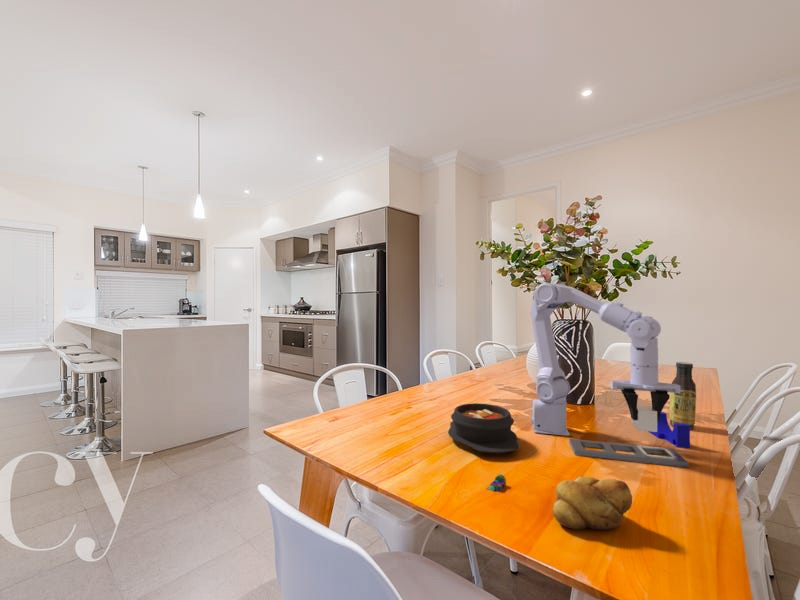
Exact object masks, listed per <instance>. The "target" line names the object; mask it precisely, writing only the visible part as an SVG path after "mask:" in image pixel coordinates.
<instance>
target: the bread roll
mask: <svg viewBox="0 0 800 600" xmlns="http://www.w3.org/2000/svg"><path fill="white" fill-rule="evenodd" d="M555 494H556V495H555V496H556V497H555V502H554V504H553V505H552V506H553V508H552V514H553V518H554V519H555V520H556V521H557V522H558V524H560V525H562V526H564V527H567V528H569V529H574V530H583V529H586V528H590V529H593V530H599V531H611V530H612V529H615V528H617V527H619V526H620V525H621V523H622V518H623V516H624V514H625V513H627V512H628V511H629V510H631V508H632V505H633V494H632V493H631V489H630V488H629V486H628V484H627V483H626V482H625V481H623V480H619V479H616V478H615V479H609V478H608V479H607V478H606V479H601V480H599V479H598V478H595V477H593V476H592V477H591V476H583V475H580V476H578V477H577V478H576V479H574V480H572V479H566V480H563V481H561V482H559V483H558V484H557V486H556V488H555Z"/></svg>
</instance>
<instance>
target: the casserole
mask: <svg viewBox="0 0 800 600" xmlns="http://www.w3.org/2000/svg"><path fill="white" fill-rule="evenodd" d="M450 419H451V420H452V421H451V422H450V423H449V426H450V427H449V428H448V431H447V433H448V435H449V437H450V438H451V439H452V440H454V441H456V442H458V443H461V444H463V445H465V446H468V447H470V448H472V449H473V450H475V451H477V452H480V453H487V454H503V453H504V454H505V453H510V452H516V451H517V450H519V449H520V445H519V442H518V436H517V434H516V433H515V432H514V431H513V430H511V429H512V426H513V425H514V423H515V420H514V418H513V417H512V415H511V412H510V411H509V410H508V409H506V408H504V407H502V406H499V405H494V404H488V403H464V404H460V405H457V406H456V407H455V408H454V410H453V413H452V414H451V415H450Z"/></svg>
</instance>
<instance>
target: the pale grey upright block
mask: <svg viewBox="0 0 800 600" xmlns="http://www.w3.org/2000/svg"><path fill="white" fill-rule="evenodd" d="M632 426H633V427H634V428H635V429H636V430H637V431H643V432H648V431H651V432H657V411H656V410H655V409H653V408H652V406H646V405H645V406H644V405H637V420H633V419H632Z"/></svg>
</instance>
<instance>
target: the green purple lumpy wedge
mask: <svg viewBox="0 0 800 600" xmlns="http://www.w3.org/2000/svg"><path fill="white" fill-rule="evenodd" d="M506 479H507V478H506V477H505V476H504V475H503V474H502V473H501V474H498V475H496V476H495V478H494V480H493V481H492V482H491V483H490V484H489V485H488V486H487V487H486V488H485V490H487V491H490V492H495V491H497V492H499V493H500V492H501V491H502V490H503V489H504V488H505V487H506V486H507V480H506Z"/></svg>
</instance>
